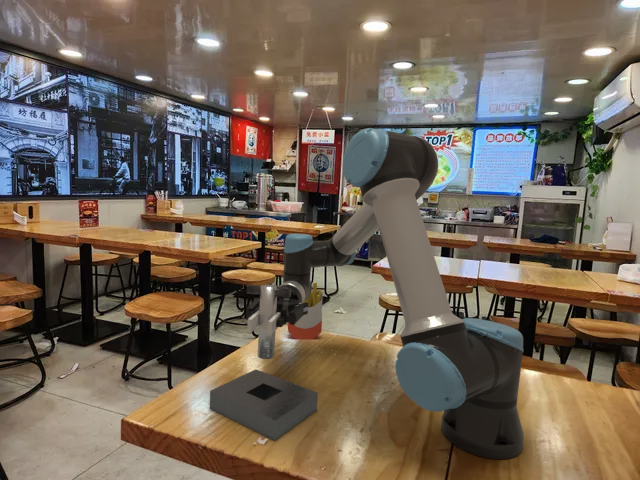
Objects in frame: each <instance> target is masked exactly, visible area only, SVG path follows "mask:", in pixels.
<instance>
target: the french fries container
mask: <svg viewBox="0 0 640 480" xmlns="http://www.w3.org/2000/svg"><path fill="white" fill-rule="evenodd" d="M323 295H324V293H323V292H322V290H321V289H318V283H317V282H312V290H311V294H310V295H309V297H308V298H307V300H305V301H304V303H305V302H306V303H308V314H306V315H303V316H302V317H301V318H300V319H299V320H298V321H297V322H296V323H295V324H294V325H291V324H289V322H287V332H288V333H289V334H290V335H291V336H292V337H293V338H294V339H295V340H311V341H312V340H314V339H315V338H316V337H318V335H319V336H320V334H321V333H322V329H323V328H322V327H323Z"/></svg>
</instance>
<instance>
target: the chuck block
mask: <svg viewBox="0 0 640 480" xmlns="http://www.w3.org/2000/svg"><path fill="white" fill-rule="evenodd" d="M318 395H319V392H317V391H315V390H312V389H309V388H306V387H304V386H301V385H299V384H295V383H294V382H290V381H288V380H285V379H282V378H280V377H277V376H275V375H273V374H272V375H271V374H269V373H268V372H267V373H266V372H264V371H261V370H259V369H256V368H255V369H253V370H251V371H249V372H247V373H245V374H243V375H240V376H239V377H237V378H234V379H232V380H230V381H228V382H226V383H223V384H222V385H220V386H218V387H216V388H212V389H211V390H209V410H211V411H213V412H215V413H217V414H219V415H222V416H224V417H226V418H228V419H230V420H232V421H234V422H236V423H238V424H240V425H241V426H244V427H246V428H248V429H250V430H252V431H254V432H256V433H259V434H260V435H262V436H264V437H266V438H268V439H270V440H272V441H274V442H275V441H276V440H278V439H280V438H281V437H282V436H283V435H284V434H286V433H288V432H289V431H290V430H291V429H293V428H295V426H297V425H298V424H300V423H301V422H303V421H304V420H305V419H307V418H308V417H310V416H311V415H312V414H313V413H315V412H316V411H318V408H317V407H318Z"/></svg>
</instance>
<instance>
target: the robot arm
mask: <svg viewBox="0 0 640 480" xmlns="http://www.w3.org/2000/svg"><path fill="white" fill-rule="evenodd" d="M438 170H439V159H438V154H437V152H436V150H435V148H434V147H433V145H432V144H431V143H430V142H428V140H426V139H424V138H422V137H420V136H417V135H410V134H405V133H400V132H395V131H390V130H386V129H384V128H372V127H369V128H368V127H367V128H364V129H361V130H359V131H358V132H357V133H356V134H354V135H353V137H352V138H351V139H350V140H349V143H348V144H347V146H346V149H345V152H344V155H343V159H342V172H343V176H344V178H345V180H346V182H347V183H348V184H350V185H352V187H354V188H359V191H360V194H361V197H362V201H363V204H362V205H361V206H360V207H359V208H358V209H357V211H356V212H354V214H353V215H352V216H351V217H350V218H349V219H348V220H346V222H345V223H344V224H343V225H342V226H341V227H340V229H338V230H337V232H335V233H334V235H333V236H332V237H330V238H329V239H328V240H313V236H312V235H311V234H309V233H307V234H306V233H289V234H287V235H286V237H285V241H284V247H283V251H284V252H283V253H284V255H283V256H284V257H283V274H282V275H283V276H282V284H280V285H279V286H277V288H288V289H291V295H290V297H279V296H277V308H276V314H275V315H274V316H273V317H272V318H271V319H270V320H269V321H268V335H272V334H273V333H274V332H275V333H276V330H277V329H278V328H282V327H284V325H286V324H288V322H289V324H291V325H294V324H295V323H296V322H297V321H298V320H299V319H300V318H301V317H302V316H303V315H306V314H308V303H306V302H305V303H304V301H305V300H307V298H308V297H309V295H310V294H311V291H313V282H312V281H311V275H312V274H311V272H312V268H322V267H323V268H324V267H325V268H327V267H343V266H347V265H348V266H349V265H351V264H352V263H353V262H354V261H355V257H356V255H357V252H356V251H357V250H358V249H359V248H360V247H362V246H363V245H364V243H366V242H367V241H369V239H370V238H371V237H372V236H373V235H375V234H376V232H377V231H379V234H380V239H381V241H382V244H383V248H384V252H385V256H386V259H387V262H388V266H389V270H390V273H391V277H392V280H393V284H394V285H393V286H394V287H395V291H396V295H397V298H398V302H399V307H400V310H401V313H402V316H403V319H404V320H403V321H404V327H403V329H402V331H401V333H400V340H401V343H402V344H401V345H402V347H401V349H400V350H399V351H398V352H397V355H396V358H397V359H396V360H395V362H394V364H395V365H394V367H395V368H394V369H395V373H396V378H397V381H398V382H399V384H400V386H401V388H402V390H403V392H404V393H405V395H406V396H407V397H408V398H409V399H410V401H414V403H415V404H416V405H417V406H418V407H420V408H422V409H424V410H426V411H429V412H435V413H437V412H443V413H442V416H441V417H442V418H441V426H440V428H441V432H442V433H443V435H444V437H446V438H447V440H448V441H449V442H450V443H452V444H453V445H455V446H456V447H457V448H459V449H461V450H462V451H466V452H467V453H470V454H473V455H475V456H477V457H478V456H479V457H482V458H487V459H492V460H506V459H512V458H515V457H517V456H518V455H520V454H521V453H522V451H523V447H524V431H523V428H522V423H521V419H520V415H519V411H518V398H519V389H520V377H521V372H522V371H521V369H522V361H523V353H524V336H523V334H522V333H521V332H520V331H519V330H518V329H516V328H515V327H512V326H509V325H506V324H503V323H499V322H495V321H491V320H486V319H480V318H475V317H474V318H473V317H466V318H460V317H458V316H457V315H456V314H454V313H453V312H452V308H451V305H450V302H449V299H448V296H447V293H446V289H445V287H444V284H443V281H442V280H443V279H442V277H441V273H440V270H439V267H438V264H437V261H436V259H435V255H434V251H433V248H432V245H431V242H430V239H429V236H428V232H427V229H426V227H425V222H424V219H423V217H422V213H421V210H420V207H419V204H418V199H420V198H421V197H422V196H423V195H425V193H426V192H427V191H428V190H429V189H430V187H431V186H432V185H433V183H434V181H435V180H436V177H437V175H438ZM259 312H260V297H255V298H253V301H252V302H251V304H249V306H247V307H246V313H245V314H246V315H245V316H246V317H245V318H246V320H247V329H246V331H247V333H249V334H252V333H253V332H254V330H256V329H257V327H259Z"/></svg>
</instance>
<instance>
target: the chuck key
mask: <svg viewBox="0 0 640 480" xmlns="http://www.w3.org/2000/svg"><path fill="white" fill-rule="evenodd" d="M246 294H250V295H259V299H260V312H259V325H258V337H257V338H258V339H257V340H258V341H257V357H258V359H260V360H261V359H262V360H269V359H270V360H271V359H273V358H275V350H276V349H275V348H276V331H275V332H274V333H273V334H272V335H268V321H269V320H270V319H271V318H272V317H273V316H274V315H275V314H276V308H277V296H279V297H290V295H291V289H288V288H278V285H275V284H261V285H253V284H247V286H246Z"/></svg>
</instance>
